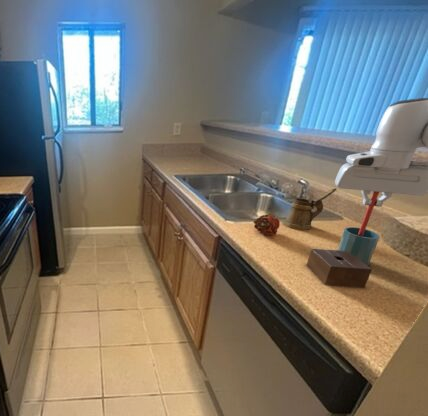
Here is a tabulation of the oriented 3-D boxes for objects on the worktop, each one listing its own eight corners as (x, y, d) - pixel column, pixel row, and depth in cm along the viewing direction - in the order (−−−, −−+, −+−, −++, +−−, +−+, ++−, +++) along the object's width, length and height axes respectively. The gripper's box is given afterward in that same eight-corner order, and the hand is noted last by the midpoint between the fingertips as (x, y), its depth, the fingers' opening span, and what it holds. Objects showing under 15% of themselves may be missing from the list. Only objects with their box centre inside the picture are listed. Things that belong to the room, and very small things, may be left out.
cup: (362, 256, 92) (372, 229, 88) (373, 269, 85) (384, 240, 81) (332, 251, 95) (341, 225, 91) (340, 263, 88) (349, 235, 84)
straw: (362, 234, 87) (385, 173, 80) (363, 236, 86) (387, 173, 78) (357, 233, 87) (379, 172, 80) (358, 235, 86) (381, 173, 79)
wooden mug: (322, 235, 106) (336, 191, 100) (282, 225, 115) (292, 184, 108) (324, 228, 112) (338, 186, 106) (286, 219, 121) (296, 180, 114)
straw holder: (341, 267, 86) (347, 250, 83) (364, 287, 76) (372, 269, 74) (306, 265, 87) (311, 248, 85) (324, 284, 78) (331, 266, 76)
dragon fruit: (262, 242, 104) (260, 234, 115) (286, 233, 100) (282, 226, 111) (251, 223, 105) (250, 216, 115) (274, 213, 101) (271, 207, 111)
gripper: (431, 160, 76) (412, 206, 81) (340, 155, 84) (327, 197, 89) (446, 164, 71) (424, 214, 76) (347, 159, 79) (333, 203, 84)
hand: (371, 205), depth 83 cm, fingers closed on straw, 1 cm apart
